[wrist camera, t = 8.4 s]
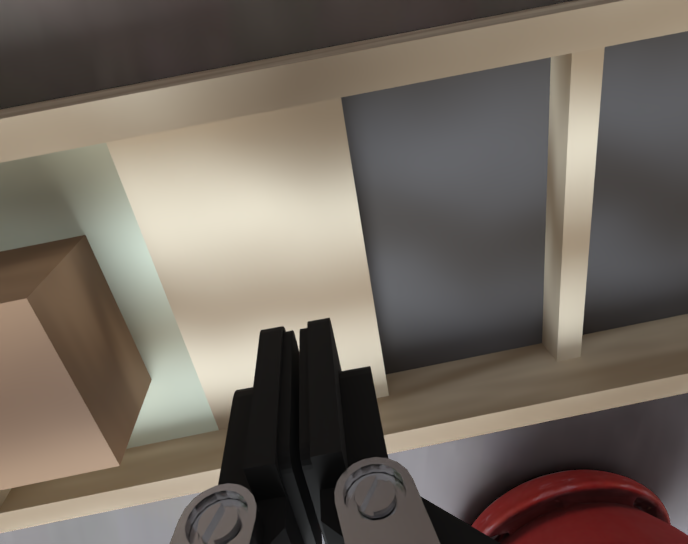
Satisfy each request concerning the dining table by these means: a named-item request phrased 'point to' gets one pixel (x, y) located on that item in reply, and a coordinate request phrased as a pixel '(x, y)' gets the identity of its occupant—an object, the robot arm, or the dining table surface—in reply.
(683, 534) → the plant pot
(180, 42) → the dining table surface
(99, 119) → the track
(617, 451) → the dining table surface
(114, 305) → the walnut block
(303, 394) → the robot arm
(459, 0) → the dining table surface
